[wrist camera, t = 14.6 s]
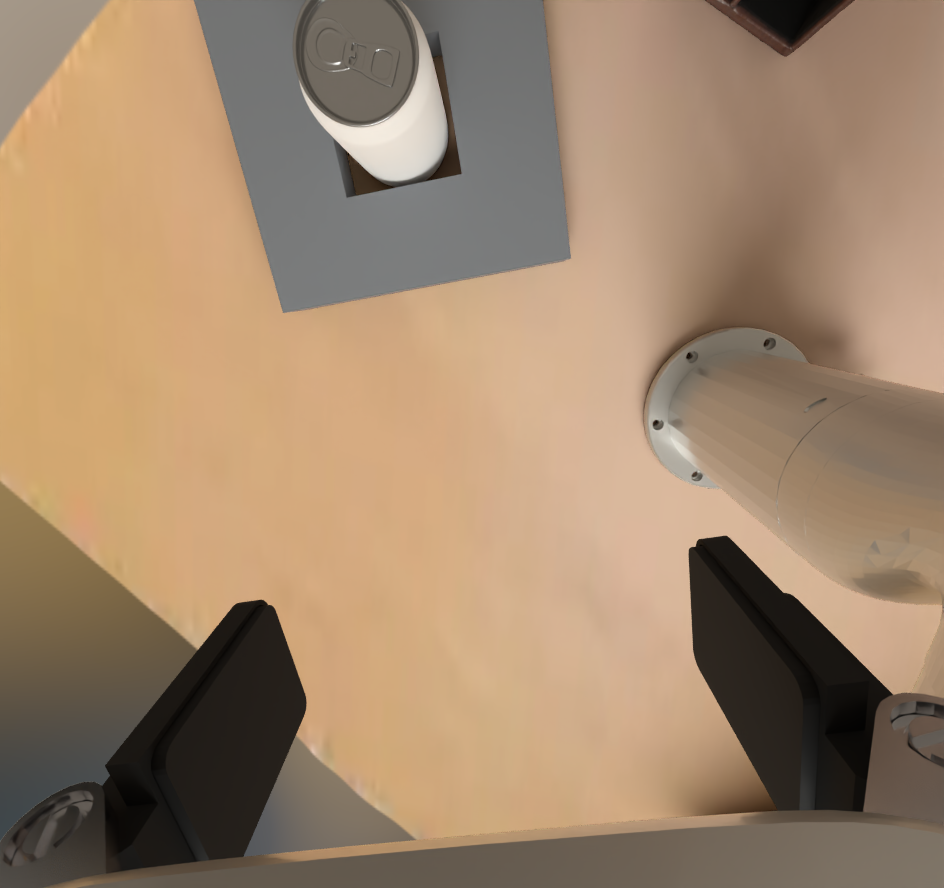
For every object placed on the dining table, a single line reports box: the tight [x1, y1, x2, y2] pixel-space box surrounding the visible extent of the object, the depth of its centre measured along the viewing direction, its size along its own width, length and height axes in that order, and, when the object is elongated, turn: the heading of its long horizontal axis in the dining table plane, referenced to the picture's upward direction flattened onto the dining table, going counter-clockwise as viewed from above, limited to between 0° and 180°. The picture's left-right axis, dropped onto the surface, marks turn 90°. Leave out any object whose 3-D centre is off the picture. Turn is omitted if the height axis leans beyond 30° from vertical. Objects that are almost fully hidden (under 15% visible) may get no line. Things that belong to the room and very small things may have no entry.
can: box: [293, 0, 448, 187], centre depth 27 cm, size 6×6×12 cm
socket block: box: [194, 0, 571, 313], centre depth 31 cm, size 20×20×3 cm
